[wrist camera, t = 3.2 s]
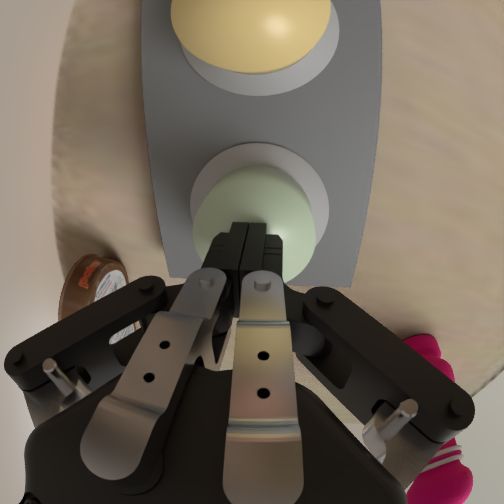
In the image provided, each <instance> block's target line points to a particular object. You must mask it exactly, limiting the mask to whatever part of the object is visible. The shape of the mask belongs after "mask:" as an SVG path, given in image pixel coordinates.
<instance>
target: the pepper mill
mask: <svg viewBox="0 0 504 504" xmlns="http://www.w3.org/2000/svg"><path fill="white" fill-rule="evenodd" d="M403 341H404V342H405V343H406V344H407V345H409V346H410V347H411V348H412V349H414V350H415V351H416V352H417V353H419V354H420V355H421V356H422V357H424V358H425V359H426V360H427V361H429V362H430V363H431V364H432V365H434V366H435V367H436V368H437V369H439V370H440V371H441V372H442V373H444V374H445V375H446V376H447V377H448V378H450V379H451V380H452V381H453V382H455V378H454V374H453V370H452V368H451V366H450V364H449V363H448V362H447V361H445V360H443V359H440V357H441V351H440V349H439V346H438V343H437V341H436V339H435V338H434V337H432V336H430V335H416V336H412V337H410V338H407V339H405V340H403ZM461 449H462V446H460V445H457V444H456V441H455V437H454V438H452V439H451V440H449V441H448V442H447V443H445V444H444V445H442V446H441V448H440V449H439V450H438V452H437V453H436V454H435V455H434V457H433V458H432V459H431V461H430V462H429V463H428V464H427V465H426V467H425V468H424V469H423V470H422V471H421V473H420V474H419V475H418V476H417V477H416V478H415V479H414V482H413V484H412V485H411V487H410V489H409V490H408V492H407V494H406V497H407V504H463V503H464V502H465V500H466V499H467V498H468V496H469V494H470V492H471V490H472V486H473V476H472V472H471V471H470V469H469V468H467V467H466V466H464V465H462V464H461V462H460V460H461V459H462V458H463V454H461Z"/></svg>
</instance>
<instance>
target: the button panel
mask: <svg viewBox="0 0 504 504" xmlns="http://www.w3.org/2000/svg"><path fill="white" fill-rule="evenodd" d="M171 3H172V0H142V7H141V65H142V87H143V103H144V115H145V126H146V137H147V146H148V154H149V162H150V170H151V177H152V184H153V191H154V197H155V204H156V210H157V216H158V221H159V227H160V232H161V237H162V243H163V248H164V253H165V257H166V262H167V267H168V271H169V276H170V277H172V278H185V279H187V278H188V277H189V275H190V274H191V273H192V272H194V271H196V270H198V269H201V266H202V264H203V262H202V260H201V259H200V257H199V255H198V253H197V251H196V248H195V245H194V241H193V232H192V231H193V223H194V219H195V216H196V213H197V211H198V209H199V207H200V206H201V204H202V203H203V201H204V200H205V198H206V197H207V195H208V194H209V192H210V191H211V189H212V188H213V186H214V185H215V184H216V182H217V181H218V180H219V179H220V178H222V177H223V176H224V175H226V174H227V173H229V172H231V171H233V170H235V169H238V168H241V167H245V166H252V165H260V166H268V167H272V168H275V169H278V170H280V171H282V172H284V173H286V174H288V175H289V176H291V177H292V178H293V179H294V180H295V181H297V182H298V183H299V185H300V186H301V187H302V188H303V190H304V191H305V193H306V195H307V197H308V199H309V202H310V206H311V211H312V216H313V221H314V226H315V232H316V244H315V249H314V252H313V255H312V257H311V259H310V261H309V263H308V264H307V266H306V267H305V268H304V269H303V270H302V271H301V273H300V274H298V275H297V276H296V277H294V278H293V279H291V280H290V281H288V282H286V283H285V284H286V285H301V286H326V287H351V283H352V279H353V275H354V271H355V267H356V263H357V258H358V254H359V249H360V245H361V240H362V235H363V230H364V225H365V220H366V215H367V209H368V204H369V198H370V192H371V185H372V179H373V172H374V164H375V156H376V148H377V139H378V129H379V117H380V103H381V84H382V22H381V5H380V0H330V3H331V13H330V18H329V22H328V25H327V27H326V30H325V32H324V33H323V35H322V36H321V38H320V39H319V41H318V42H317V43H316V45H315V46H314V47H313V49H312V50H311V51H310V52H309V53H308V54H307V55H306V56H305V57H304V58H303V59H302V60H300V61H299V62H298V63H296V64H294V65H292V66H291V67H289V68H286V69H284V70H281V71H278V72H274V73H269V74H262V75H247V74H240V73H236V72H232V71H229V70H226V69H223V68H220V67H217V66H214V65H211V64H209V63H207V62H205V61H203V60H201V59H199V58H198V57H196V56H195V55H193V54H192V53H191V52H190V51H189V50H187V49H186V48H185V47H184V45H183V44H182V43H181V42H180V40H179V39H178V37H177V35H176V33H175V31H174V28H173V25H172V21H171Z"/></svg>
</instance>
